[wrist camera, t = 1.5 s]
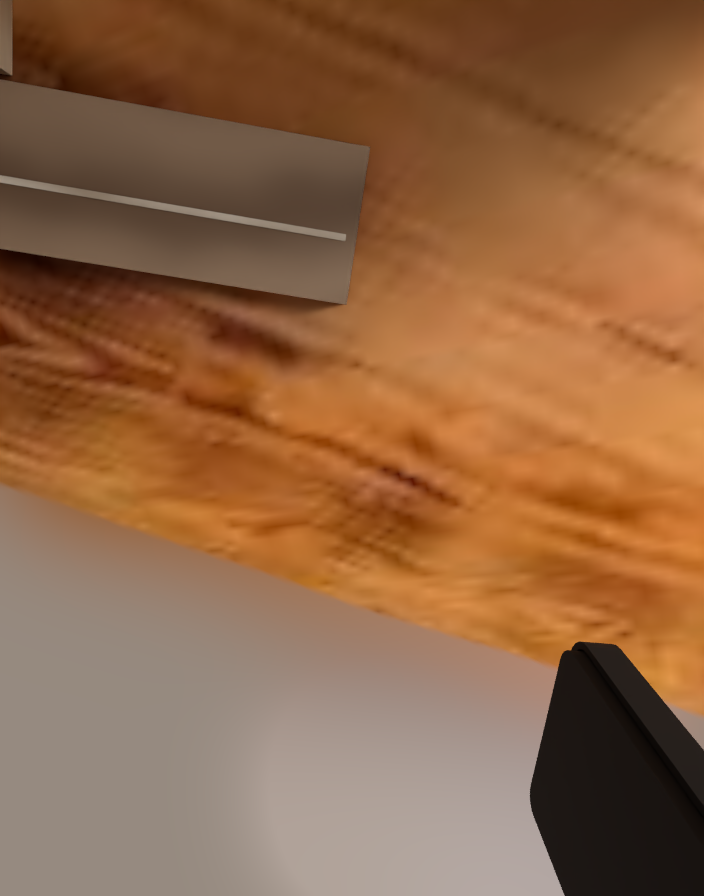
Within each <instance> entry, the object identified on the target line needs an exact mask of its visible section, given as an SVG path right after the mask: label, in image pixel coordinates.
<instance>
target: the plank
mask: <svg viewBox="0 0 704 896" xmlns="http://www.w3.org/2000/svg"><path fill="white" fill-rule="evenodd" d="M369 152H370V147H368V146H362V145H357V144H352V143H346V142H341V141H335V140H330V139H324V138H319V137H313V136H308V135H302V134H297V133H291V132H286V131H280V130H275V129H269V128H264V127H258V126H253V125H248V124H242V123H237V122H231V121H226V120H220V119H215V118H209V117H204V116H198V115H193V114H187V113H182V112H176V111H171V110H165V109H160V108H154V107H149V106H144V105H138V104H133V103H127V102H122V101H116V100H111V99H105V98H100V97H94V96H89V95H83V94H78V93H72V92H67V91H61V90H56V89H50V88H45V87H40V86H34V85H29V84H23V83H18V82H12V81H7V80H1V79H0V249H5V250H12V251H18V252H24V253H30V254H36V255H42V256H49V257H55V258H61V259H67V260H73V261H79V262H86V263H92V264H98V265H104V266H110V267H117V268H123V269H129V270H135V271H141V272H147V273H154V274H160V275H166V276H172V277H178V278H184V279H191V280H197V281H203V282H209V283H215V284H221V285H228V286H234V287H240V288H246V289H252V290H258V291H265V292H271V293H277V294H283V295H289V296H296V297H302V298H308V299H314V300H320V301H326V302H333V303H339V304H345V305H346V304H347V298H348V291H349V285H350V278H351V271H352V265H353V258H354V251H355V245H356V238H357V231H358V225H359V218H360V211H361V205H362V198H363V191H364V185H365V178H366V172H367V165H368V158H369Z"/></svg>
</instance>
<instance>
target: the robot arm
mask: <svg viewBox="0 0 704 896" xmlns="http://www.w3.org/2000/svg"><path fill="white" fill-rule="evenodd" d="M530 802H531V808H532V812H533V816H534V818H535V821H536V823H537V826H538V829H539V831H540V834H541V836H542V839H543V841H544V844H545V846H546V849H547V852H548V854H549V857H550V859H551V862H552V864H553V867H554V870H555V872H556V875H557V877H558V880H559V882H560V884H561V887H562V890H563V893H564V895H565V896H704V750H703V749H702V748H701V746H700V745H699V744H698V743H697V742H696V740H695V739H694V738H693V737H692V735H691V734H690V733H689V732H688V731H687V729H686V728H685V727H684V726H683V725H682V723H681V722H680V721H679V720H678V718H677V717H676V716H675V715H674V714H673V712H672V711H671V710H670V709H669V707H668V706H667V705H666V704H665V703H664V701H663V700H662V699H661V698H660V697H659V695H658V694H657V693H656V692H655V690H654V689H653V688H652V687H651V686H650V684H649V683H648V682H647V681H646V679H645V678H644V677H643V676H642V675H641V673H640V672H639V671H638V670H637V669H636V667H635V666H634V665H633V664H632V662H631V661H630V660H629V659H628V658H627V656H626V655H625V654H624V653H623V651H622V650H621V649H620V648H619V647H618V646H616V645H613V644H604V643H590V642H577V643H575V645H574V646H573V647H572V650H571V651H570V650H567V651H564V653H563V654H562V656H561V659H560V663H559V667H558V672H557V676H556V681H555V684H554V689H553V693H552V697H551V702H550V706H549V710H548V714H547V719H546V723H545V727H544V731H543V736H542V740H541V744H540V749H539V753H538V757H537V761H536V766H535V770H534V774H533V778H532V783H531V788H530Z"/></svg>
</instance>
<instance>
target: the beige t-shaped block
mask: <svg viewBox="0 0 704 896" xmlns="http://www.w3.org/2000/svg"><path fill="white" fill-rule="evenodd" d="M0 74H5V75H10V76H12V0H0Z"/></svg>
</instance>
